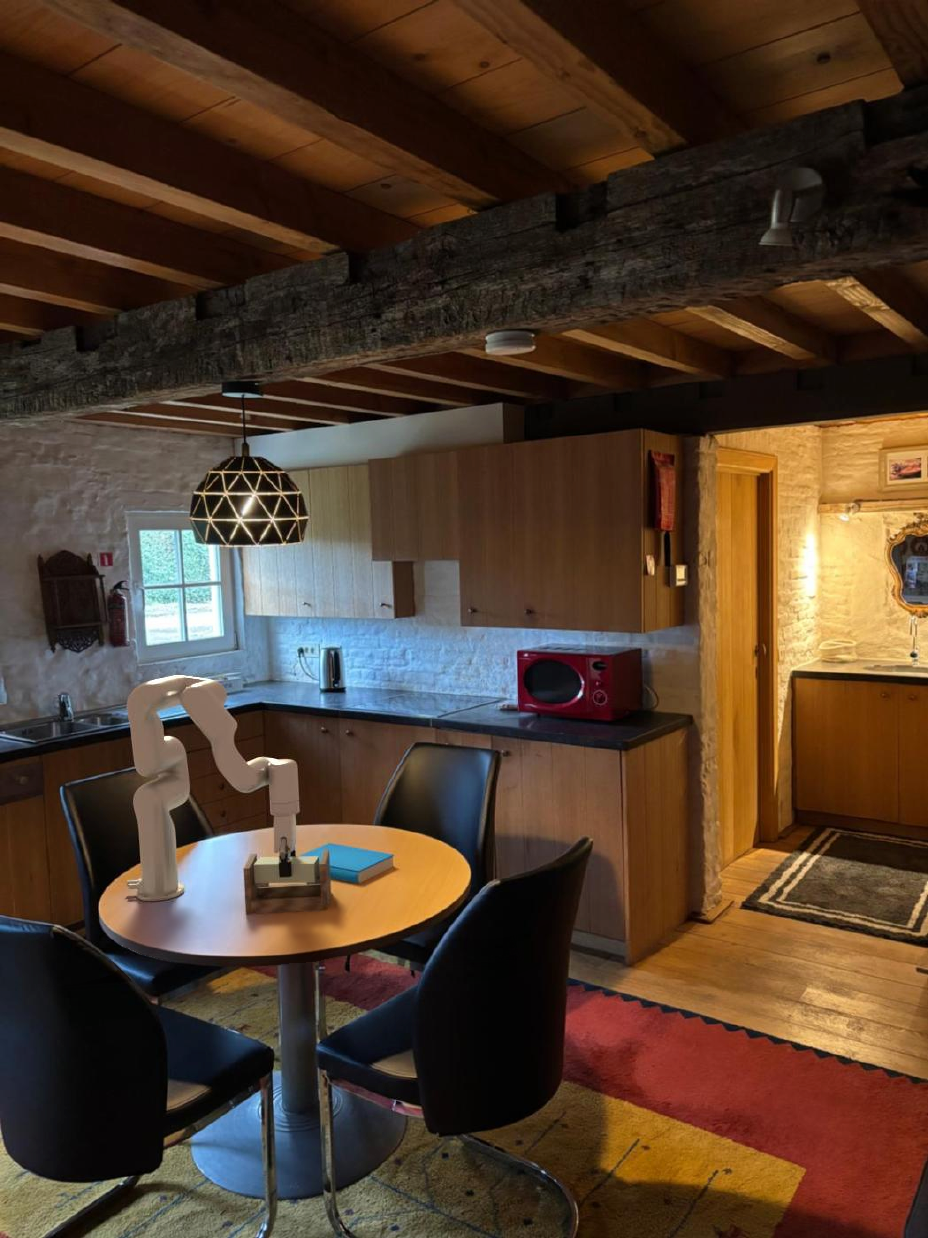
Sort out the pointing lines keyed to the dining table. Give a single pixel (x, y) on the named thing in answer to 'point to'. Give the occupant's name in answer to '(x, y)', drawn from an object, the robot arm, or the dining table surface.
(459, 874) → the dining table surface
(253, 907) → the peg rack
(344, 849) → the book
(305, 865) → the pale green block
